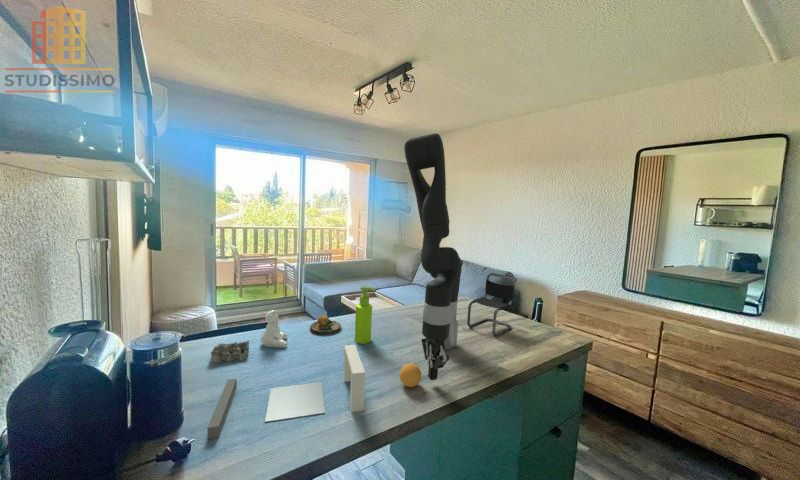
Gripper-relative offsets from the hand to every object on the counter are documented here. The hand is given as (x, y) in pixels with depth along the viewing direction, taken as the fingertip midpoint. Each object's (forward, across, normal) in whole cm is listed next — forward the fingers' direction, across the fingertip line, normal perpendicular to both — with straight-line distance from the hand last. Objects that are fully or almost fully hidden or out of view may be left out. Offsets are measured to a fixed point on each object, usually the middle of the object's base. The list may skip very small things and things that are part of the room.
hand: (432, 378), depth 86 cm
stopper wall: (+2, +3, +52) cm, 52 cm away
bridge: (+2, +2, +22) cm, 22 cm away
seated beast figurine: (+2, +37, +43) cm, 56 cm away
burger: (+2, +46, +24) cm, 52 cm away
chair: (+2, +32, -43) cm, 54 cm away
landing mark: (+2, +2, +36) cm, 36 cm away
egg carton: (+2, +31, +55) cm, 63 cm away
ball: (-1, +1, +6) cm, 7 cm away
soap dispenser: (+2, +32, +12) cm, 35 cm away
